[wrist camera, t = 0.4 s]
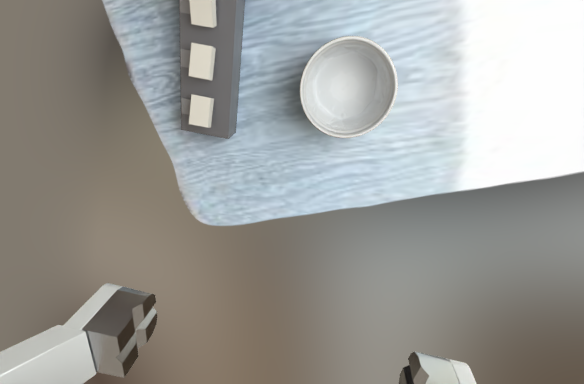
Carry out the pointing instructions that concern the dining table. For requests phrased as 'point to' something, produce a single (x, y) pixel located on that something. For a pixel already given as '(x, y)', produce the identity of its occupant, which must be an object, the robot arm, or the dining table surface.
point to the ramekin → (348, 87)
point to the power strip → (225, 66)
